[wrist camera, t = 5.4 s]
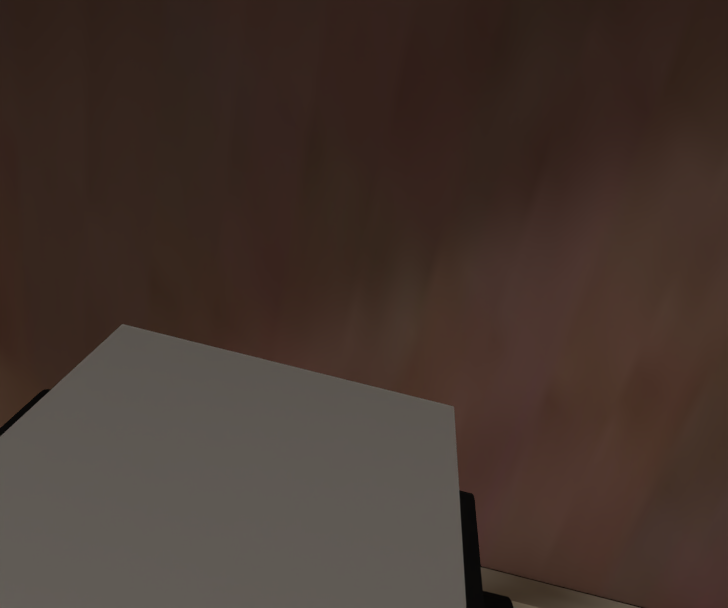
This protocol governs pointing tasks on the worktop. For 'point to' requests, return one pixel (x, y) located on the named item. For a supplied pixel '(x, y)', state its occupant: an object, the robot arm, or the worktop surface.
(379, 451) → the die
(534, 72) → the worktop surface
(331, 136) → the worktop surface
